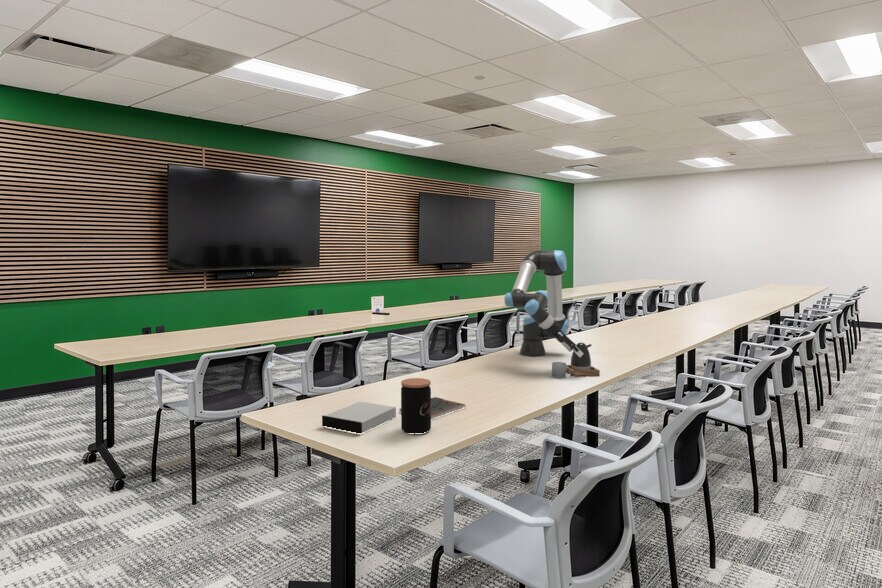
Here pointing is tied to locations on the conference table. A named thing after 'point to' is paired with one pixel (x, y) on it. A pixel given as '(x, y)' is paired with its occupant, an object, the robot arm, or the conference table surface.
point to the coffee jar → (415, 405)
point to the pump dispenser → (581, 358)
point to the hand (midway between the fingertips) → (576, 352)
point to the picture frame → (442, 407)
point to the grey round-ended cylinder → (558, 370)
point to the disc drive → (359, 417)
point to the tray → (582, 372)
